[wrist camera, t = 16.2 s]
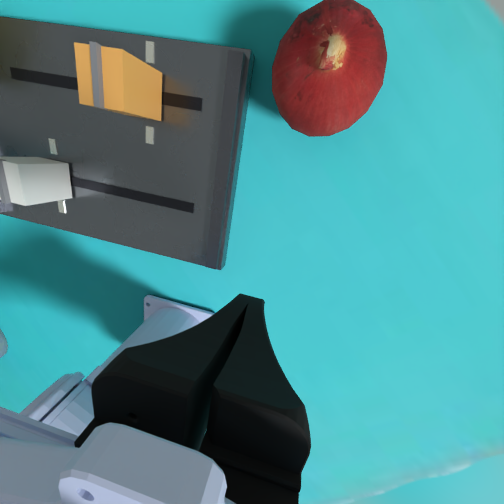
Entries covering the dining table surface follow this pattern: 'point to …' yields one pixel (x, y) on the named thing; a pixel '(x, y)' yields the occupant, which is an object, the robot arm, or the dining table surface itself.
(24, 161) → the fader
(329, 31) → the onion
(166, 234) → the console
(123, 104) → the fader
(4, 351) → the grey textured cup
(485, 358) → the dining table surface
